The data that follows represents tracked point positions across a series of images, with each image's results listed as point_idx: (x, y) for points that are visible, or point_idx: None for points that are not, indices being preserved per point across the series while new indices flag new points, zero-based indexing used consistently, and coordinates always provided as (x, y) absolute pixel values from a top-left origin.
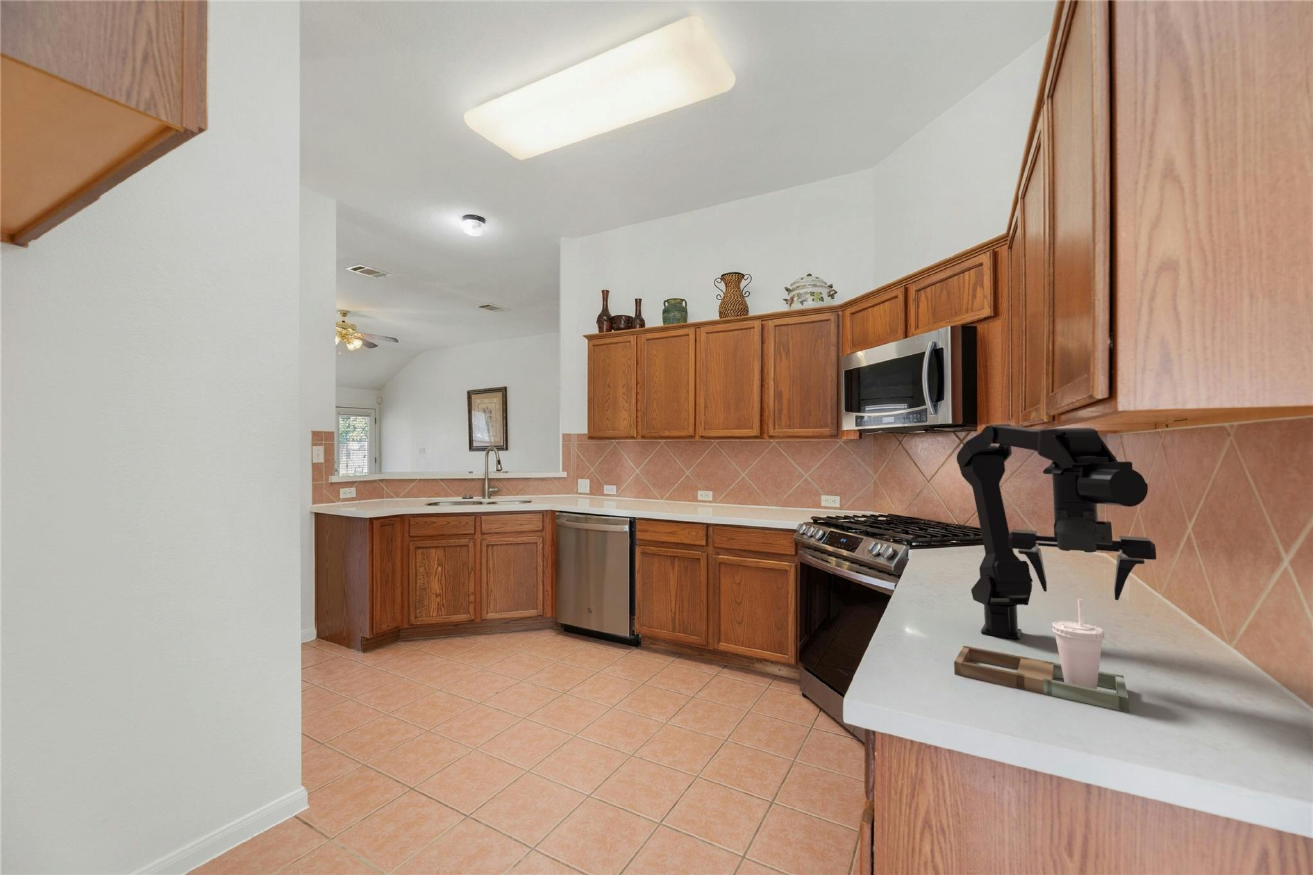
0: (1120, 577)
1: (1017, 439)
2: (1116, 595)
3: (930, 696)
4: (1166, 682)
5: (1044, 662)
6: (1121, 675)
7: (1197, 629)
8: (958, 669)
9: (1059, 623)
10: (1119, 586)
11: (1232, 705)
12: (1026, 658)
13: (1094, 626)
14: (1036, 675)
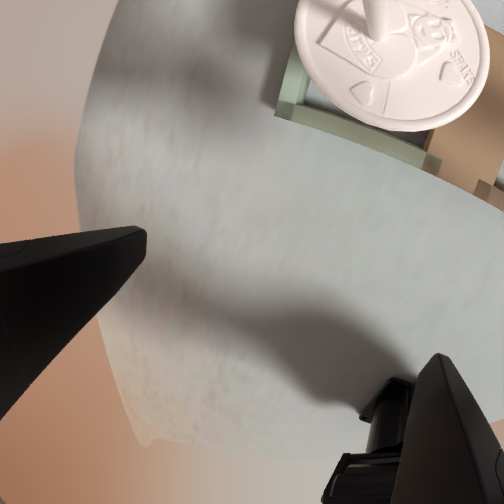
0: (24, 254)
1: None
2: (125, 230)
3: None
4: (192, 191)
5: (445, 162)
6: (278, 115)
7: (125, 404)
8: None
9: (459, 74)
10: (75, 238)
11: (135, 111)
12: (480, 186)
13: (315, 67)
14: (491, 53)
